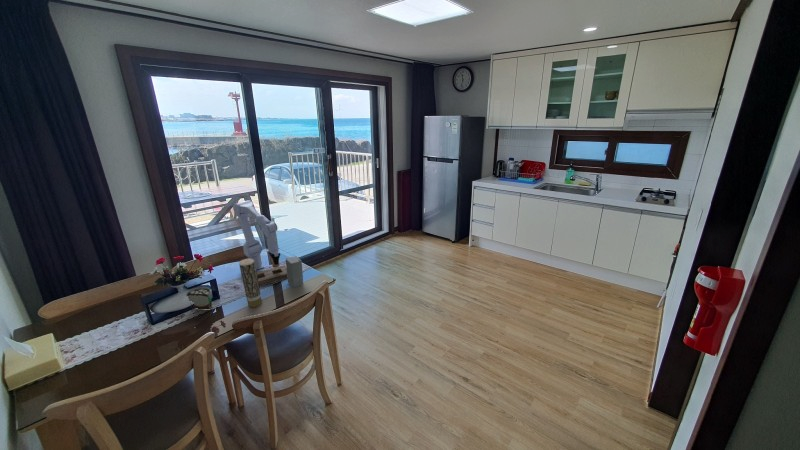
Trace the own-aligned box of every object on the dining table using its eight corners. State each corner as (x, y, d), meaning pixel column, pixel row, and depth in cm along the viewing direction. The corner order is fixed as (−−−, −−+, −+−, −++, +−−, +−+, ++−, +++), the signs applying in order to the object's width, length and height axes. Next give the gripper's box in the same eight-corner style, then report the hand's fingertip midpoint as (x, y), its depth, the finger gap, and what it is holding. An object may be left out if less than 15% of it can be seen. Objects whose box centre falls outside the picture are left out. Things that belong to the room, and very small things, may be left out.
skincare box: (287, 282, 182) (283, 258, 177) (298, 278, 187) (295, 254, 181) (293, 288, 176) (289, 263, 171) (305, 283, 181) (301, 259, 175)
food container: (220, 303, 163) (216, 287, 159) (212, 310, 157) (208, 294, 153) (198, 302, 164) (194, 286, 160) (190, 309, 158) (185, 292, 154)
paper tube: (256, 308, 158) (248, 265, 150) (245, 307, 160) (235, 264, 151) (264, 301, 165) (256, 259, 156) (253, 299, 166) (245, 258, 157)
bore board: (248, 279, 186) (247, 274, 185) (285, 269, 197) (284, 265, 196) (251, 288, 177) (250, 283, 176) (290, 277, 188) (289, 272, 187)
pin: (272, 265, 188) (269, 254, 185) (278, 263, 190) (276, 252, 187) (273, 268, 185) (270, 256, 182) (280, 266, 186) (277, 254, 184)
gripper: (262, 239, 185) (266, 260, 190) (267, 248, 174) (271, 269, 179) (274, 237, 189) (278, 257, 194) (280, 245, 178) (283, 266, 182)
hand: (275, 262), depth 186 cm, fingers closed on pin, 4 cm apart
